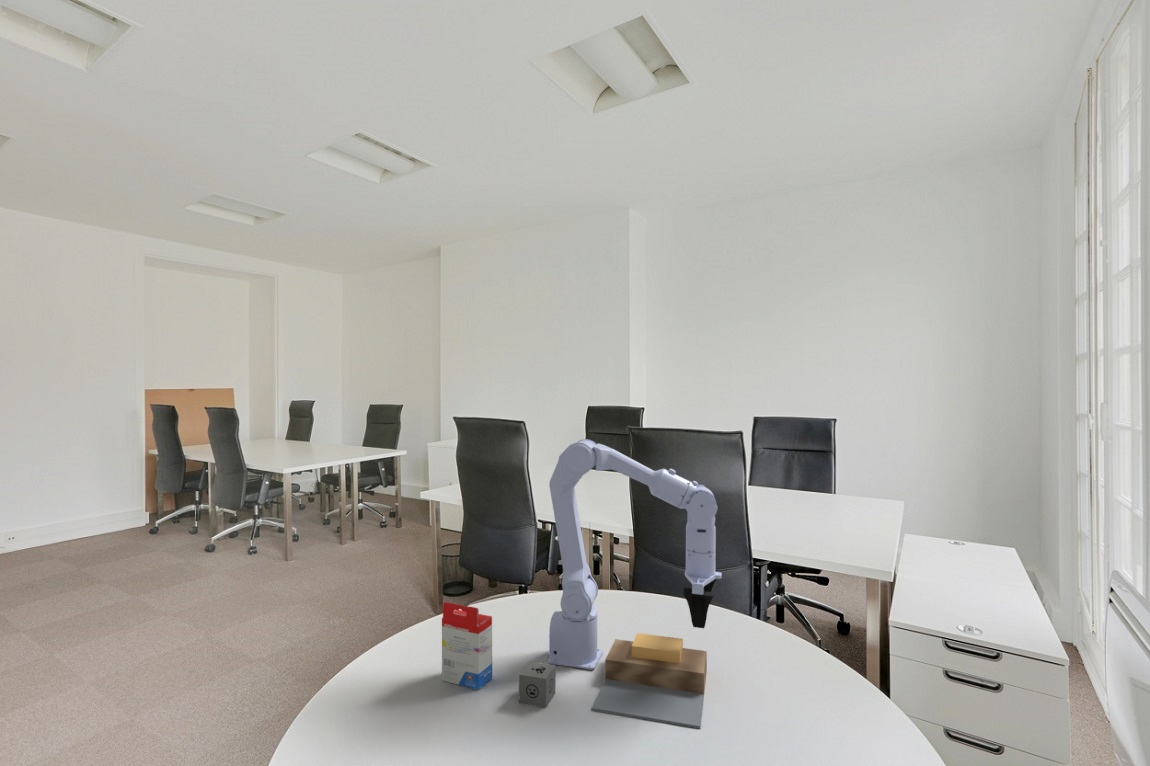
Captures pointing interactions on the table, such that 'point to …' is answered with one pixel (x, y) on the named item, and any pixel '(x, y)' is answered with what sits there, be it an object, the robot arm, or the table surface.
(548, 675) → the dice cube
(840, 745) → the table surface
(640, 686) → the mat
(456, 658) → the ink box
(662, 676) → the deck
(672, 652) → the yellow orange block
